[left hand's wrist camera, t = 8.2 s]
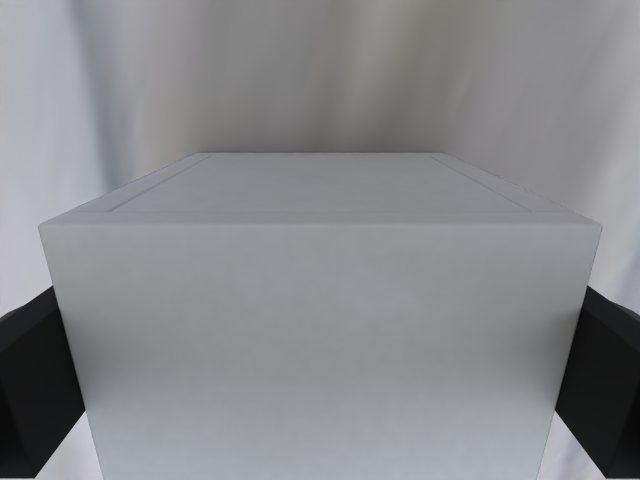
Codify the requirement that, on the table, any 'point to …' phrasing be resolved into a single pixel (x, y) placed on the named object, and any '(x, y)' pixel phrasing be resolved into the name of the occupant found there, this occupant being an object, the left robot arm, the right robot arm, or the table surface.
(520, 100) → the table surface
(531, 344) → the grey box
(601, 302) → the left robot arm
